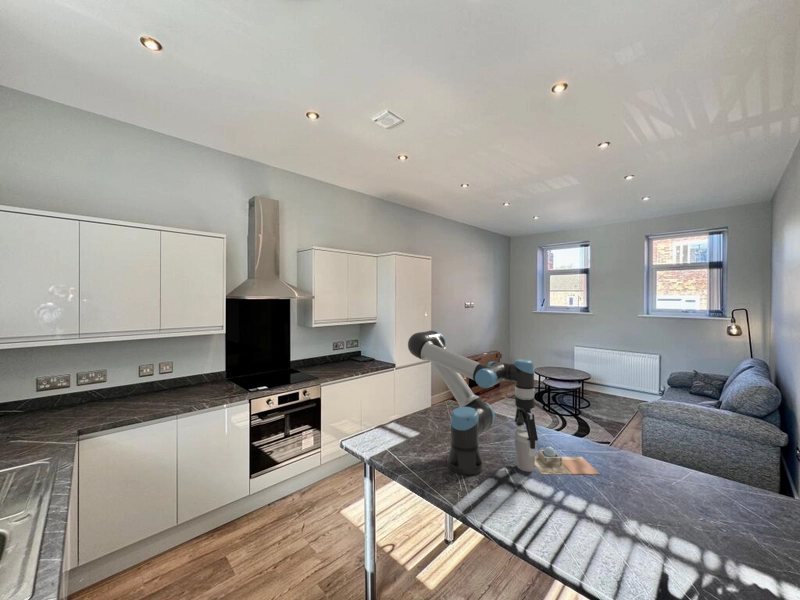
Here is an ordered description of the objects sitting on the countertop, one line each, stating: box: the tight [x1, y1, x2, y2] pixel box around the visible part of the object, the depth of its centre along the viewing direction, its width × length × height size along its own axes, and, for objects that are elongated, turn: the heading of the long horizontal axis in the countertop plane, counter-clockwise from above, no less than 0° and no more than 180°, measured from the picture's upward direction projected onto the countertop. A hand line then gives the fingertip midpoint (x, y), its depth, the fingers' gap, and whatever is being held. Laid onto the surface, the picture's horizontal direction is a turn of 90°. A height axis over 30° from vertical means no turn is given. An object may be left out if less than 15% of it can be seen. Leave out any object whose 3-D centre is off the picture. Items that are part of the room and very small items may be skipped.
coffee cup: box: [512, 428, 538, 473], centre depth 131 cm, size 10×10×15 cm
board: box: [534, 449, 601, 476], centre depth 132 cm, size 23×14×4 cm, turn 87°
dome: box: [543, 446, 556, 457], centre depth 135 cm, size 4×4×5 cm
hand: (525, 448), depth 131 cm, fingers open, 13 cm apart
